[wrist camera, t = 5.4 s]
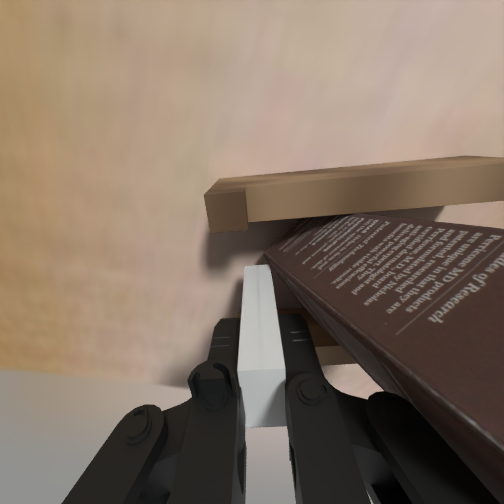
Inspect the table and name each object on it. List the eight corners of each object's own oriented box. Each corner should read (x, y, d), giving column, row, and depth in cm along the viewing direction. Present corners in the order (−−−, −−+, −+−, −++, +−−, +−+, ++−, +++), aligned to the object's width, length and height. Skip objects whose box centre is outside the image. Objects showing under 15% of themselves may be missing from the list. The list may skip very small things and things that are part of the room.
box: (365, 273, 15) (844, 519, 4) (312, 317, 15) (638, 690, 4) (319, 199, 13) (1022, 260, 2) (257, 249, 13) (603, 607, 2)
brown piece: (240, 328, 17) (237, 386, 13) (219, 178, 13) (203, 194, 9) (422, 316, 17) (478, 372, 13) (466, 155, 12) (573, 161, 8)
